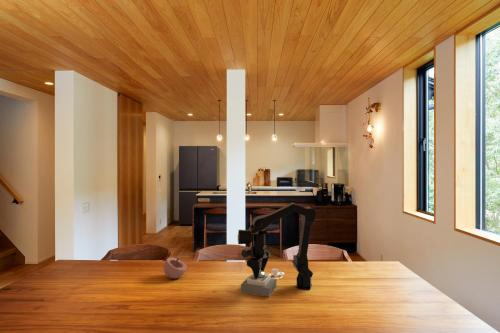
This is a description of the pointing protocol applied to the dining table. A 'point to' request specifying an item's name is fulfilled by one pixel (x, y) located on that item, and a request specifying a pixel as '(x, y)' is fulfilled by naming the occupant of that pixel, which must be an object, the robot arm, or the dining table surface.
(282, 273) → the teacup and saucer
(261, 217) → the robot arm
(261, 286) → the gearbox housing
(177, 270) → the mortar and pestle
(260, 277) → the metal can
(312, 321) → the dining table surface
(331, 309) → the dining table surface
